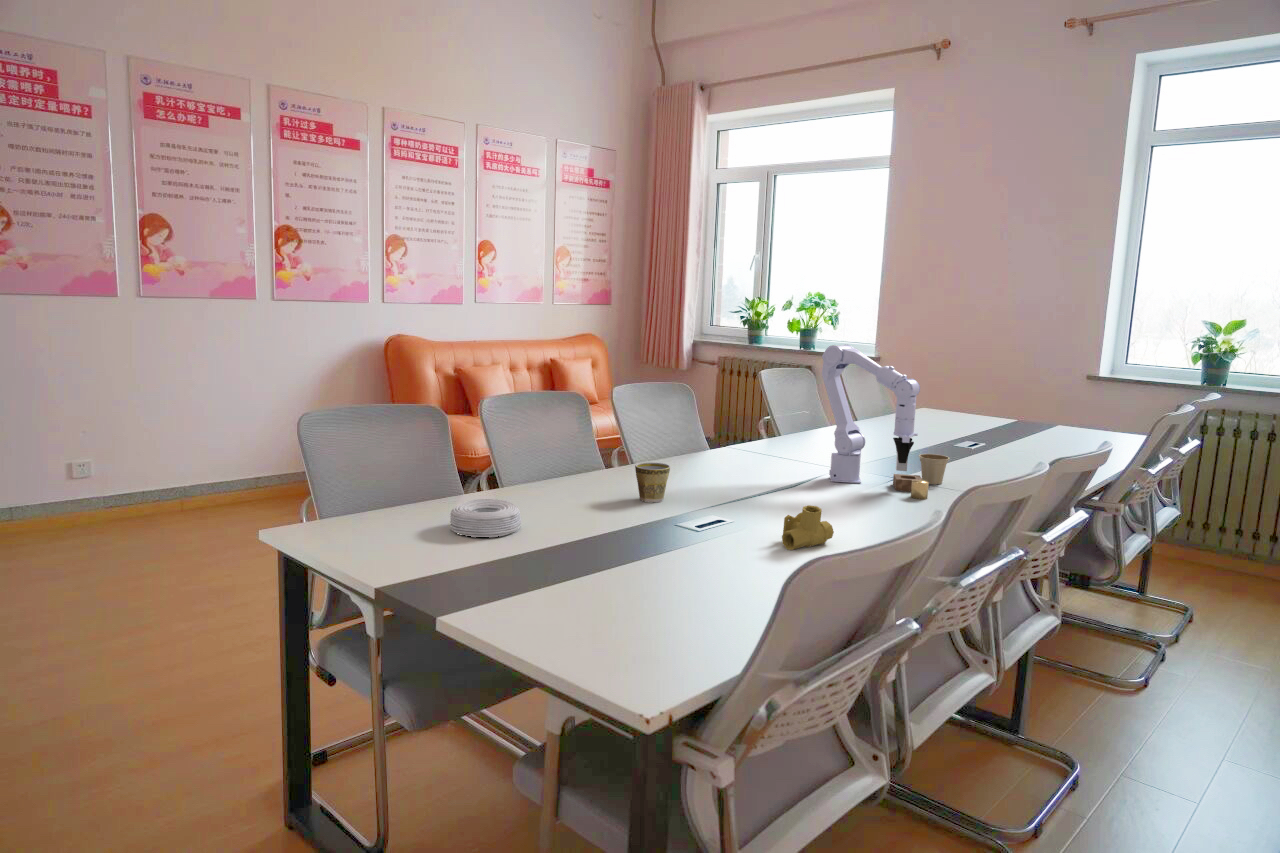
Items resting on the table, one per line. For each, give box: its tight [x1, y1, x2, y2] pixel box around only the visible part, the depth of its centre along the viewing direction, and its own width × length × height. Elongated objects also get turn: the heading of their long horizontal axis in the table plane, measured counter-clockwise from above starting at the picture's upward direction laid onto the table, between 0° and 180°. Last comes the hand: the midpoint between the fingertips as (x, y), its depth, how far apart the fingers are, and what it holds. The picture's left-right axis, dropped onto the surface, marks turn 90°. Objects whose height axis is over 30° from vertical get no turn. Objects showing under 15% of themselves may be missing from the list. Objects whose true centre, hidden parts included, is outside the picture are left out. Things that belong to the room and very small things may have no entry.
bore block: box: [892, 473, 922, 492], centre depth 268 cm, size 8×8×4 cm
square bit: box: [895, 451, 909, 472], centre depth 264 cm, size 3×3×6 cm
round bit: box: [910, 480, 930, 501], centre depth 256 cm, size 5×5×5 cm
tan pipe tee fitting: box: [781, 504, 835, 551], centre depth 205 cm, size 13×10×10 cm
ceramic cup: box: [634, 462, 671, 503], centre depth 246 cm, size 13×10×10 cm
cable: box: [449, 498, 523, 538], centre depth 212 cm, size 18×18×6 cm
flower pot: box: [918, 453, 950, 486], centre depth 277 cm, size 9×9×9 cm
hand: (901, 461), depth 264 cm, fingers closed on square bit, 3 cm apart
